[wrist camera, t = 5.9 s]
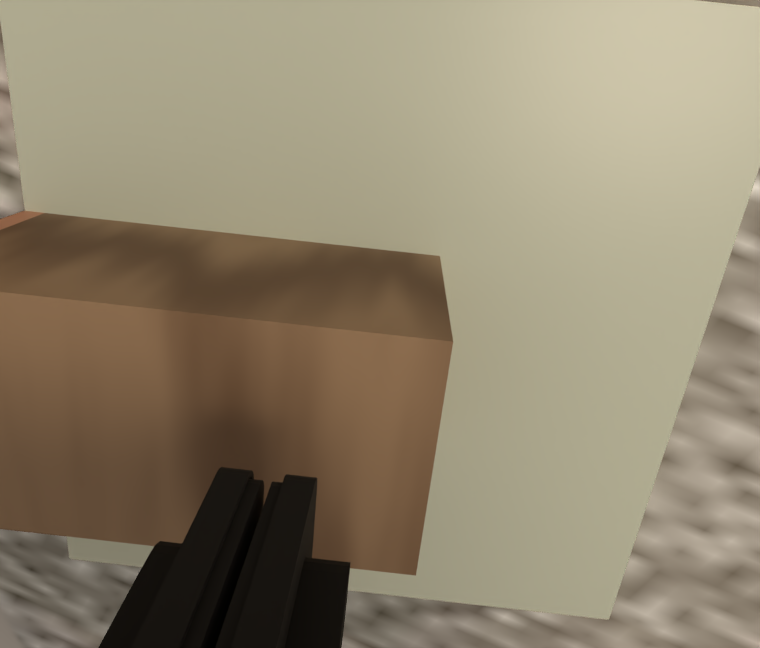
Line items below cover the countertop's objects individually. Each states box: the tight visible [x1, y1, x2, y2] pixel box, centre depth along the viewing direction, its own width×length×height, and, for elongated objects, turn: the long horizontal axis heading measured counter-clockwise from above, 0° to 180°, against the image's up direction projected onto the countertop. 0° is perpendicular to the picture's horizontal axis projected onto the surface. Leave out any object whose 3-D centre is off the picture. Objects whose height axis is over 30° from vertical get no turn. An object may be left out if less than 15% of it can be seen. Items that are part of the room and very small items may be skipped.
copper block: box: [0, 211, 453, 576], centre depth 16 cm, size 6×6×12 cm
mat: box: [0, 0, 760, 620], centre depth 19 cm, size 20×20×1 cm
